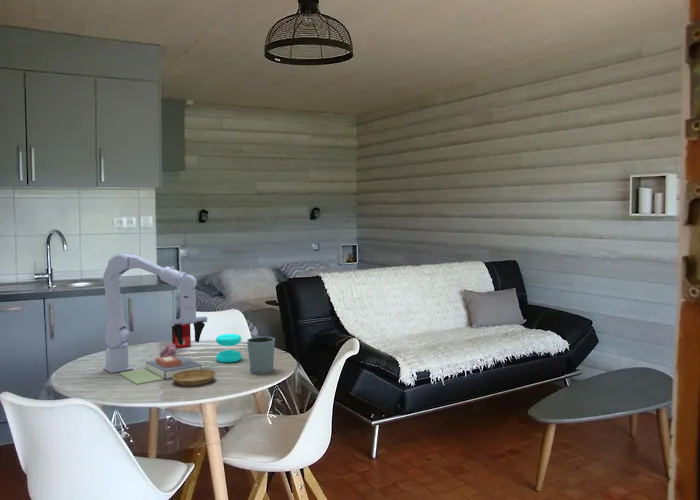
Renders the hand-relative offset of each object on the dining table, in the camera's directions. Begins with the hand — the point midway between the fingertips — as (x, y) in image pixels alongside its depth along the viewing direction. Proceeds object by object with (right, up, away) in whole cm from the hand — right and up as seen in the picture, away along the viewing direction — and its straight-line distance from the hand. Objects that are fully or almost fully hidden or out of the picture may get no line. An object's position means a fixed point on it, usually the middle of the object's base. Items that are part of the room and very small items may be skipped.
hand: (188, 343), depth 227 cm
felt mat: (-15, -11, -10) cm, 21 cm away
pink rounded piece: (-13, -9, +18) cm, 24 cm away
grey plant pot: (+28, -10, -3) cm, 30 cm away
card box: (-6, -7, -5) cm, 11 cm away
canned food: (-14, -8, +40) cm, 43 cm away
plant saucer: (+6, -11, -17) cm, 21 cm away
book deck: (-5, -10, -3) cm, 12 cm away
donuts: (+12, -9, +14) cm, 21 cm away
